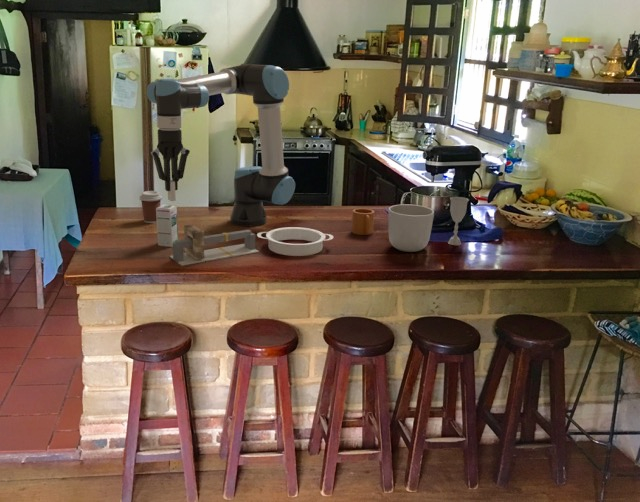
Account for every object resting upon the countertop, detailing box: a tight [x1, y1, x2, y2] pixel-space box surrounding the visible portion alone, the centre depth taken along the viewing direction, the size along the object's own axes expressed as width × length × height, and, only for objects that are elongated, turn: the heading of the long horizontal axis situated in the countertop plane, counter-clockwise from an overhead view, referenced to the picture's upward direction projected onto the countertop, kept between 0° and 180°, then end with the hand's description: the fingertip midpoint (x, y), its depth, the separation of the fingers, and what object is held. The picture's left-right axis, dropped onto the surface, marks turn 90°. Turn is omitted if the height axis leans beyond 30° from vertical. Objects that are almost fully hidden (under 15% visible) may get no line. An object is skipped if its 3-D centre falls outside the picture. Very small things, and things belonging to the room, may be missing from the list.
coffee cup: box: [139, 190, 163, 224], centre depth 265 cm, size 9×9×12 cm
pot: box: [256, 226, 334, 257], centre depth 241 cm, size 29×22×5 cm
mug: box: [351, 208, 375, 236], centre depth 261 cm, size 9×12×9 cm
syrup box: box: [156, 204, 179, 248], centre depth 237 cm, size 6×6×14 cm
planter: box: [387, 203, 435, 253], centre depth 243 cm, size 17×17×15 cm
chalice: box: [447, 196, 470, 246], centre depth 251 cm, size 7×7×18 cm
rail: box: [169, 229, 260, 267], centre depth 229 cm, size 30×10×7 cm, turn 125°
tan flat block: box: [183, 224, 205, 260], centre depth 224 cm, size 3×10×10 cm, turn 35°
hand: (171, 200), depth 215 cm, fingers closed
